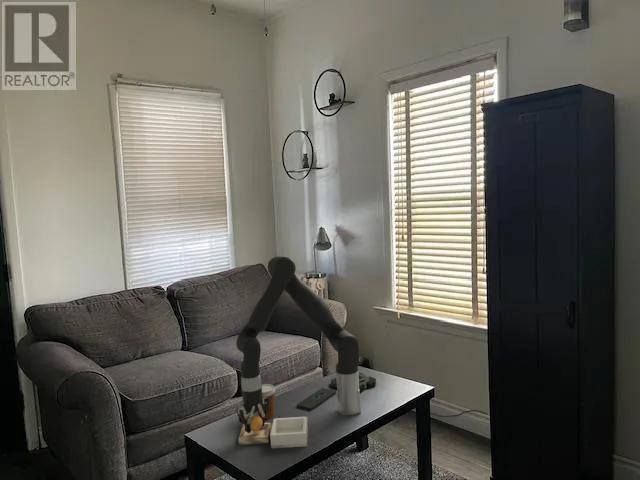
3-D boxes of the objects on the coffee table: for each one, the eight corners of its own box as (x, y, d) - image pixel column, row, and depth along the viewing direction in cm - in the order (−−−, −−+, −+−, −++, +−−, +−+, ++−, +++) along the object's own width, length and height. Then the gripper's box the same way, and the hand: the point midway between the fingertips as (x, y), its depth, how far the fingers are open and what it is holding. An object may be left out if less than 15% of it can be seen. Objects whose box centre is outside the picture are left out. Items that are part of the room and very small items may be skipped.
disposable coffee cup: (273, 421, 196) (271, 393, 195) (251, 420, 198) (249, 392, 197) (280, 410, 206) (278, 383, 204) (258, 410, 208) (256, 383, 206)
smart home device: (336, 390, 220) (311, 408, 203) (337, 394, 220) (311, 412, 204) (321, 387, 224) (295, 404, 208) (322, 391, 225) (295, 408, 208)
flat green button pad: (354, 375, 241) (353, 366, 240) (380, 384, 227) (380, 375, 226) (326, 386, 230) (326, 377, 229) (352, 397, 216) (352, 387, 215)
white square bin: (307, 428, 188) (307, 416, 188) (306, 446, 175) (306, 433, 175) (274, 430, 188) (273, 418, 188) (271, 448, 175) (270, 435, 175)
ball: (264, 426, 188) (262, 411, 187) (262, 433, 182) (260, 418, 181) (248, 427, 188) (247, 412, 187) (246, 434, 182) (244, 419, 181)
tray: (271, 428, 190) (270, 422, 190) (268, 442, 179) (267, 436, 179) (243, 430, 191) (243, 424, 190) (238, 444, 180) (238, 438, 179)
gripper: (260, 378, 191) (263, 419, 192) (230, 390, 181) (233, 433, 182) (272, 382, 185) (275, 424, 187) (241, 395, 175) (245, 439, 177)
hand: (255, 428), depth 185 cm, fingers closed on ball, 5 cm apart
